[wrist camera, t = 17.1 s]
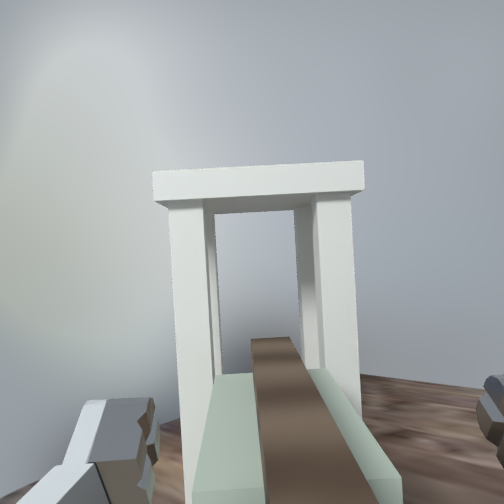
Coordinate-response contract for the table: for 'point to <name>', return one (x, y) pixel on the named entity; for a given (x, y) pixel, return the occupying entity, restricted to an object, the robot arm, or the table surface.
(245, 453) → the pale green cuboid block
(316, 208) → the stool
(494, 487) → the table surface
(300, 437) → the wooden board
